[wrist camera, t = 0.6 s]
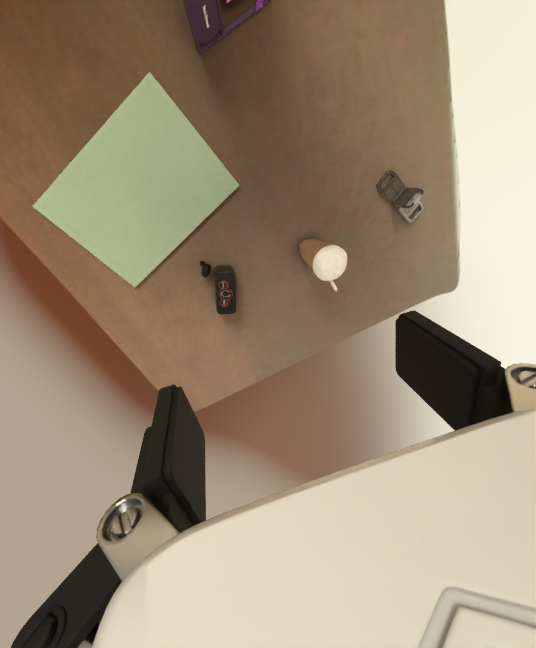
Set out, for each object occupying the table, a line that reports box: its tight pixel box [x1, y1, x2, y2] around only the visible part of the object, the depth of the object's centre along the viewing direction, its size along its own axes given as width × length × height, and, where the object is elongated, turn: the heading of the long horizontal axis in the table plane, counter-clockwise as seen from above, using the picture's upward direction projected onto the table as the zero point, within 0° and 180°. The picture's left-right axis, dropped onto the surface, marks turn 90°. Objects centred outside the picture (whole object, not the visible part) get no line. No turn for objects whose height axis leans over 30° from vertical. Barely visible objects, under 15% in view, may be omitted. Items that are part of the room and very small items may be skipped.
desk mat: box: [32, 72, 239, 288], centre depth 35 cm, size 14×20×1 cm
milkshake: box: [299, 238, 347, 292], centre depth 38 cm, size 4×5×10 cm
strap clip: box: [377, 171, 424, 223], centre depth 40 cm, size 8×3×4 cm, turn 52°
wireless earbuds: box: [200, 261, 236, 314], centre depth 41 cm, size 5×7×3 cm, turn 178°
